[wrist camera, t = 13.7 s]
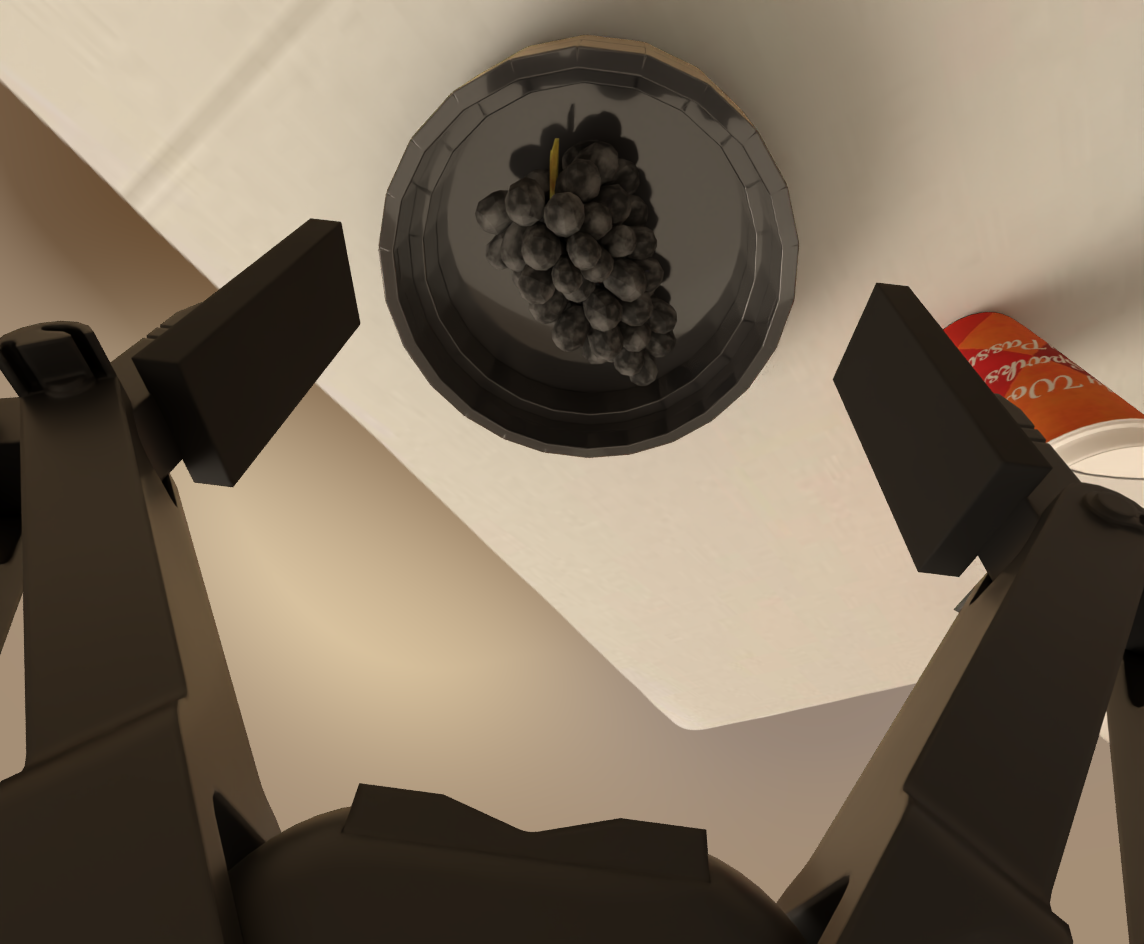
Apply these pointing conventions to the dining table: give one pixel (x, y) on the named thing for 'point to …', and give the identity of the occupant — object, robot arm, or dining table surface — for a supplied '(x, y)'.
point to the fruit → (585, 257)
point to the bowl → (489, 296)
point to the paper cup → (1058, 401)
